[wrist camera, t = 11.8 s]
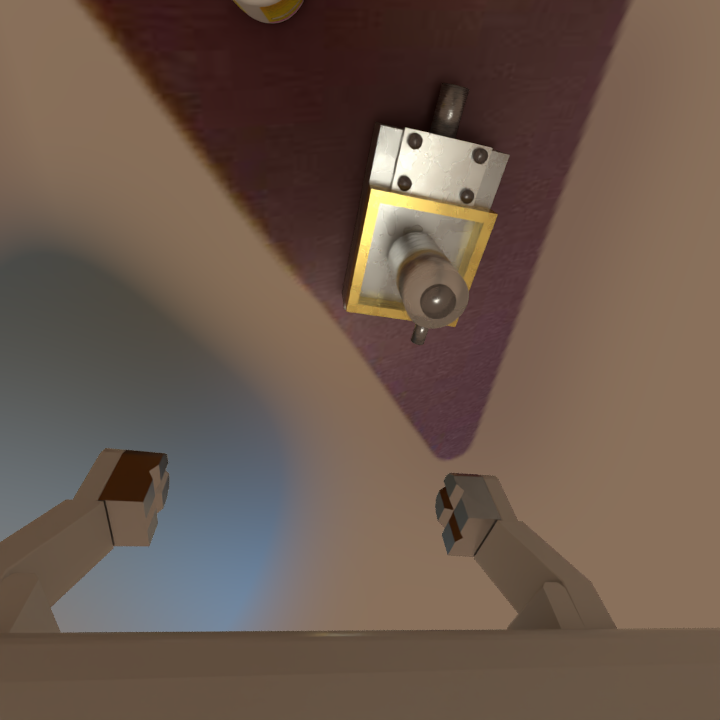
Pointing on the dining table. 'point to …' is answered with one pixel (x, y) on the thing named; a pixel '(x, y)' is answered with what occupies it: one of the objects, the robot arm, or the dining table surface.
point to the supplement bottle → (270, 9)
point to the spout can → (426, 283)
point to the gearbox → (421, 203)
